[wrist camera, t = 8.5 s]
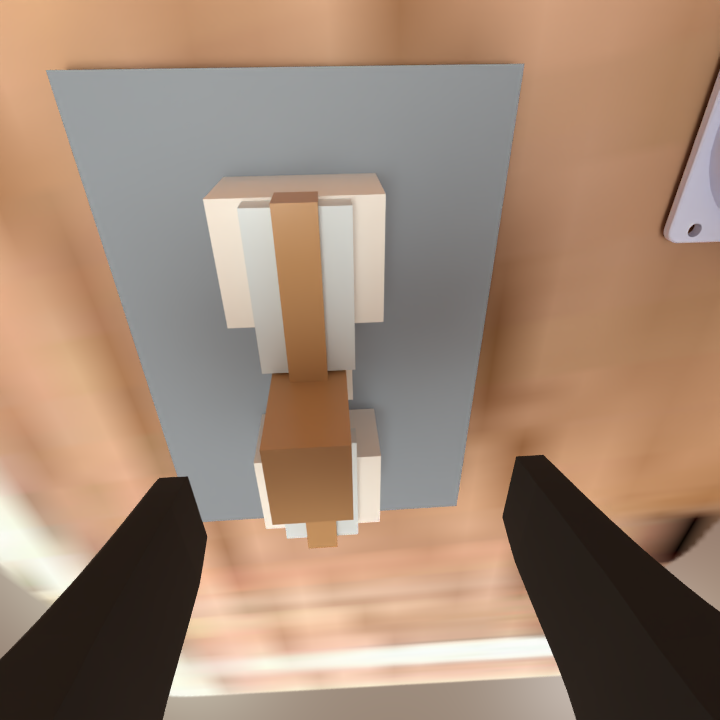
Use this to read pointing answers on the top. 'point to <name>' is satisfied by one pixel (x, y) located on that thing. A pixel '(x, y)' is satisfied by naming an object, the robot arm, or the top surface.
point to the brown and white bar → (305, 358)
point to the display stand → (370, 251)
